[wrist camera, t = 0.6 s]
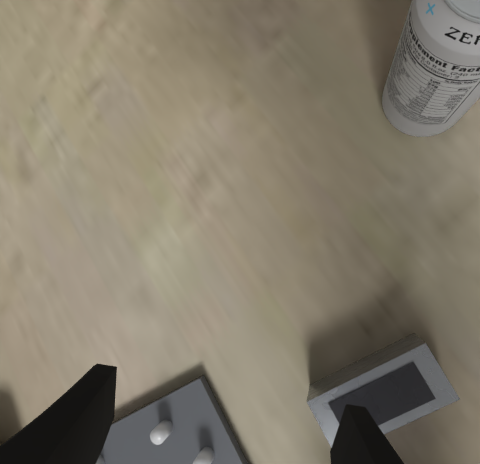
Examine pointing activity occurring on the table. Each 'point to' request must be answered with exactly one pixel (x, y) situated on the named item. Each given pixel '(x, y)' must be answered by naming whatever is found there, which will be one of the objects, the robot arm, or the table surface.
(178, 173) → the table surface
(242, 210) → the table surface
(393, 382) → the block
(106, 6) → the table surface
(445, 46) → the energy drink can
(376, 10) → the table surface
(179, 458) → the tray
